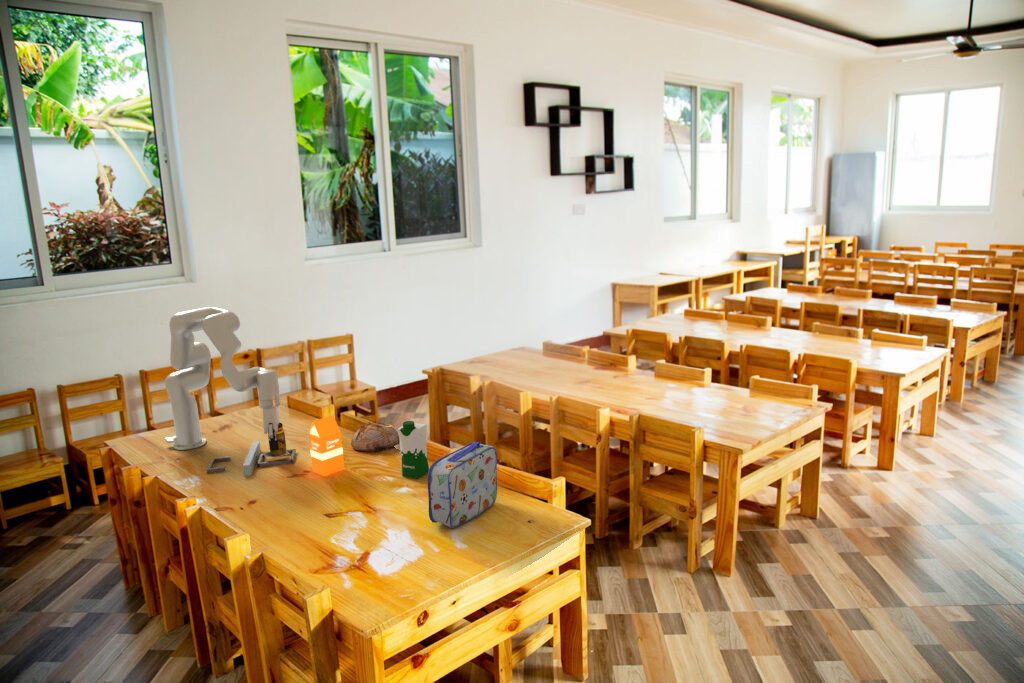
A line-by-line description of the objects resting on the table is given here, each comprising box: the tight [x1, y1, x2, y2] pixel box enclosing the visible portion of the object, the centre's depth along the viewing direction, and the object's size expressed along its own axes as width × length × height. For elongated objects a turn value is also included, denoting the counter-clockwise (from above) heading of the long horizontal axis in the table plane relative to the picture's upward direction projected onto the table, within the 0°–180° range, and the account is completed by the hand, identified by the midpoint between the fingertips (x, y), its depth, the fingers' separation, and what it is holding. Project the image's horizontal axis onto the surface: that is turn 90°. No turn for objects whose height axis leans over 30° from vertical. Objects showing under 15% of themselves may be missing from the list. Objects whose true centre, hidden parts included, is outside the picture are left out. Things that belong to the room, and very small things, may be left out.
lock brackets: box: [205, 448, 297, 474], centre depth 273 cm, size 31×12×2 cm, turn 102°
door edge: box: [242, 440, 262, 477], centre depth 273 cm, size 2×26×4 cm, turn 12°
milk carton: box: [396, 420, 430, 480], centre depth 253 cm, size 9×9×20 cm
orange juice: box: [308, 415, 345, 477], centre depth 260 cm, size 8×9×20 cm
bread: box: [350, 421, 400, 453], centre depth 285 cm, size 16×20×10 cm
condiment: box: [262, 421, 291, 460], centre depth 273 cm, size 7×8×12 cm
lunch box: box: [427, 441, 498, 529], centre depth 220 cm, size 28×10×22 cm, turn 148°
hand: (275, 446), depth 274 cm, fingers closed on condiment, 6 cm apart
